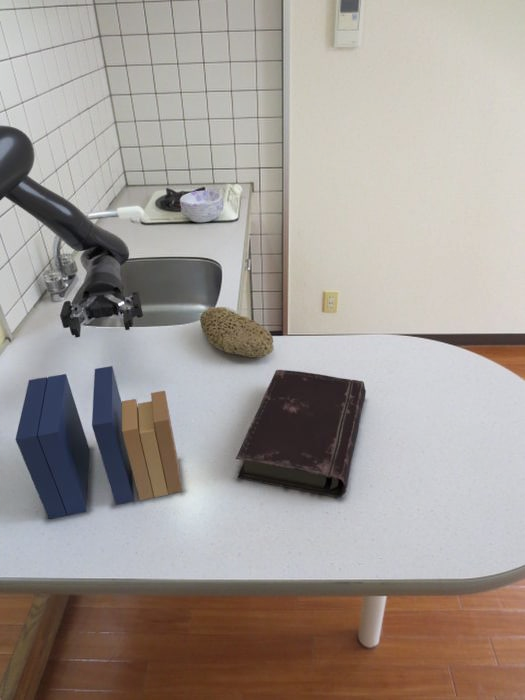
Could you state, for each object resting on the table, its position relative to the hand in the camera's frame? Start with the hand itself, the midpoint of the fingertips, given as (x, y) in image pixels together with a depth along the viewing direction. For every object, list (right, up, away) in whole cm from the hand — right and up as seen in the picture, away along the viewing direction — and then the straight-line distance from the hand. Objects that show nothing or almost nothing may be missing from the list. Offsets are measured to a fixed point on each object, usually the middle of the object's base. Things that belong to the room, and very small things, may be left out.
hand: (101, 329), depth 91 cm
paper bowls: (+7, +44, +99) cm, 108 cm away
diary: (+35, -19, +3) cm, 41 cm away
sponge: (+22, -2, +29) cm, 37 cm away
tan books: (+11, -25, -4) cm, 28 cm away
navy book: (+4, -24, -2) cm, 25 cm away
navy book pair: (-4, -26, -4) cm, 26 cm away
